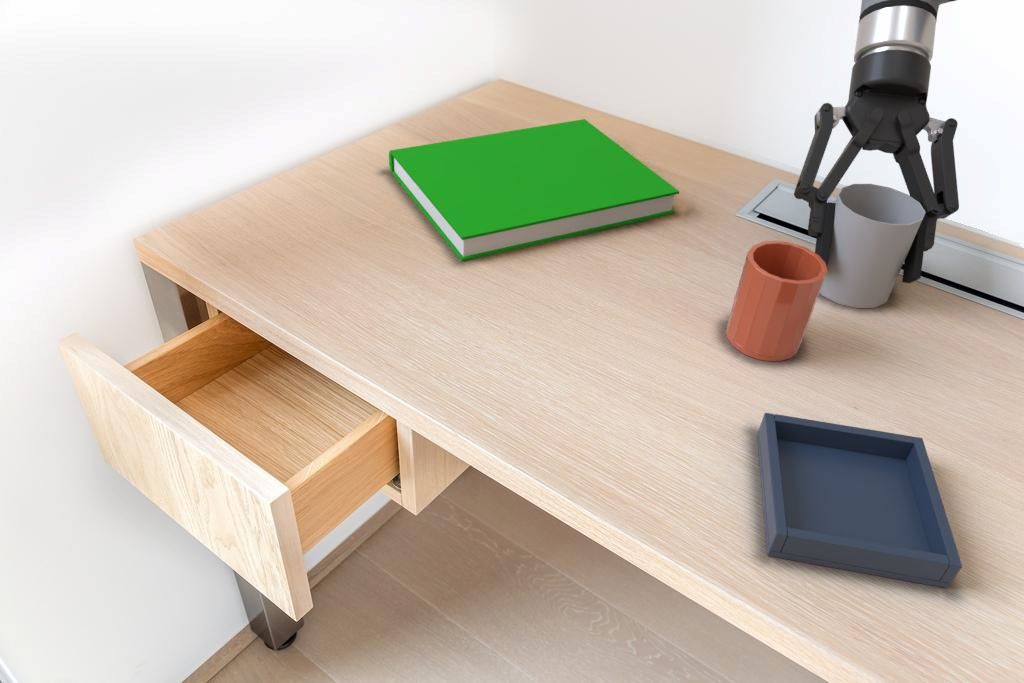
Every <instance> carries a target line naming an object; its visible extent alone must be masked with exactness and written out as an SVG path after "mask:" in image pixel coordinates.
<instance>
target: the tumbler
mask: <svg viewBox="0 0 1024 683" xmlns="http://www.w3.org/2000/svg"><path fill="white" fill-rule="evenodd" d="M826 274H827V267H826V263H825V262H824V261H823V260H822V258H821V257H820V256H819V255H818V254H816V253H815V251H813V250H812V249H809V248H807V247H805V246H802V245H800V244H798V243H795V242H794V243H793V242H791V241H783V240H767V241H765V240H764V241H761V242H758V243H756V244H753V245H752V246H751V247H750V249H749V250H748V251H747V253H746V257H745V260H744V264H743V267H742V270H741V275H740V278H739V281H738V284H737V289H736V292H735V295H734V296H735V297H734V299H733V303H732V306H731V309H730V313H729V317H728V320H727V324H726V325H727V326H726V330H725V333H726V337H727V340H728V341H729V343H730V344H731V345H732V347H734V348H735V349H736V350H737V351H739V352H741V353H742V354H744V355H746V356H748V357H750V358H753V359H757V360H760V361H765V362H781V361H786V360H788V359H791V358H793V357H795V355H796V354H797V353H798V351H799V349H800V346H801V344H802V342H803V340H804V336H805V334H806V331H807V328H808V325H809V323H810V320H811V318H812V315H813V312H814V310H815V307H816V304H817V301H818V299H819V296H820V291H821V288H822V285H823V282H824V280H825V277H826Z"/></svg>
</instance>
